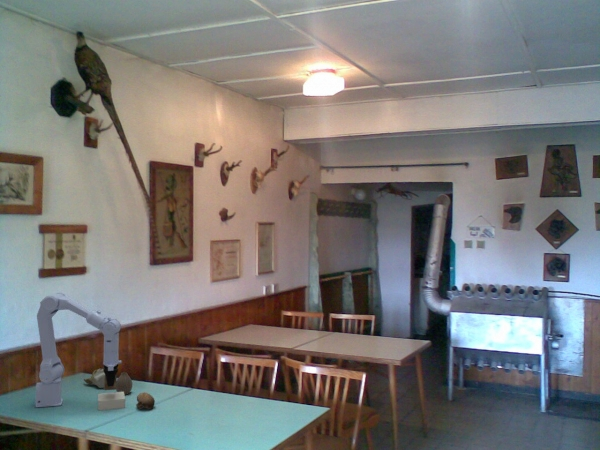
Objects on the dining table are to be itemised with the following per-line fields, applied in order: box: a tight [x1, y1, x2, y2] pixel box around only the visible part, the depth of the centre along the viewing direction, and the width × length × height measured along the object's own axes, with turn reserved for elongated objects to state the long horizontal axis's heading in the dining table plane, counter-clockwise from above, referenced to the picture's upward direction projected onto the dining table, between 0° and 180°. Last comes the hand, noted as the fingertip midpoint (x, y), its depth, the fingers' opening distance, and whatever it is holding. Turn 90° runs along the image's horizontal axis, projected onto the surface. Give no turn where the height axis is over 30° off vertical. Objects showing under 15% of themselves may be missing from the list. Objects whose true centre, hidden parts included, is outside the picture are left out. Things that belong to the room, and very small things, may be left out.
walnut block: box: [103, 374, 118, 391], centre depth 233 cm, size 4×4×5 cm
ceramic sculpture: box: [83, 366, 105, 389], centre depth 260 cm, size 11×9×15 cm
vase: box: [115, 372, 133, 396], centre depth 249 cm, size 7×7×9 cm
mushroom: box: [135, 392, 155, 410], centre depth 230 cm, size 8×8×6 cm
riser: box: [97, 391, 126, 411], centre depth 233 cm, size 10×10×4 cm
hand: (110, 384), depth 233 cm, fingers closed on walnut block, 4 cm apart
